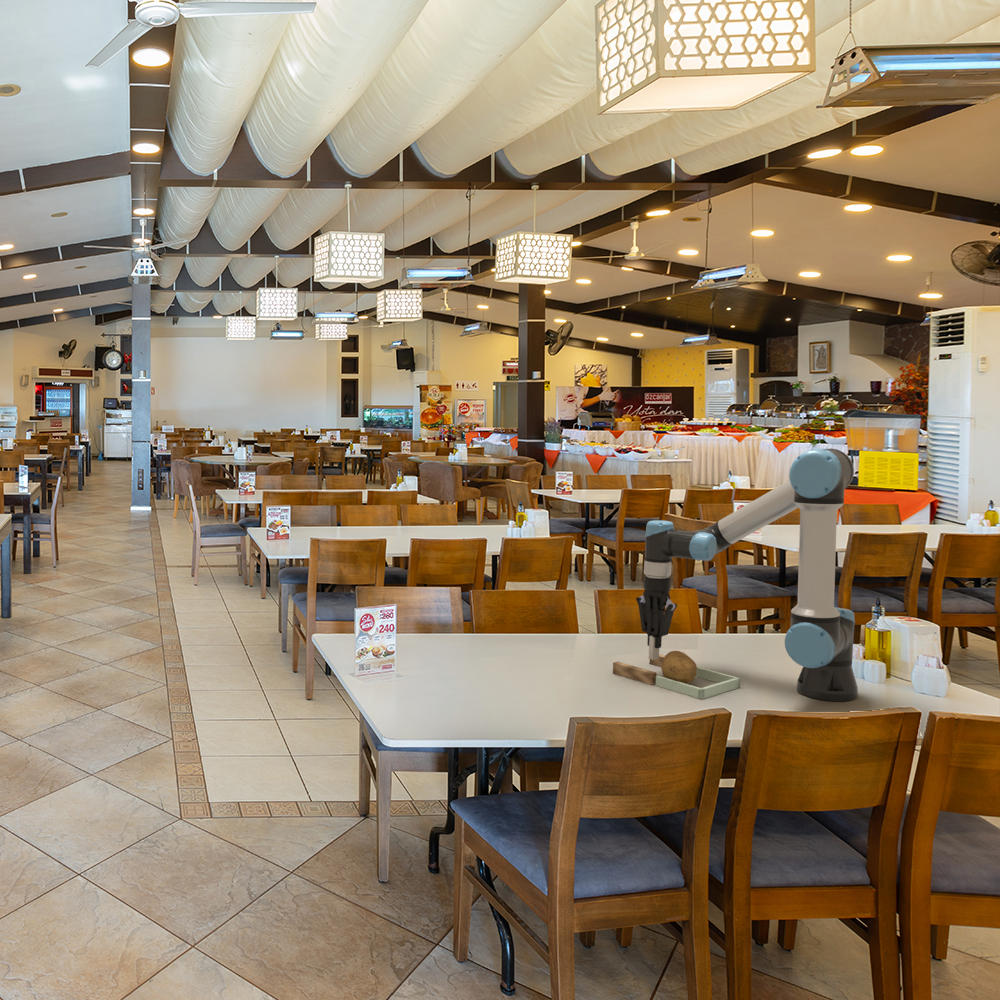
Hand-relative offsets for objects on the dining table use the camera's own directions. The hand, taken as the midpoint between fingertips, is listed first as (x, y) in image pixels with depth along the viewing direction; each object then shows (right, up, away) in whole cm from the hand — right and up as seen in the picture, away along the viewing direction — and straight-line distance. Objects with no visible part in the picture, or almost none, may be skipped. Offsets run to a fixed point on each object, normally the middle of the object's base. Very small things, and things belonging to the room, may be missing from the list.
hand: (653, 658), depth 246 cm
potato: (+5, -6, -9) cm, 12 cm away
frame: (+10, -6, -11) cm, 16 cm away
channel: (0, -4, +1) cm, 4 cm away
